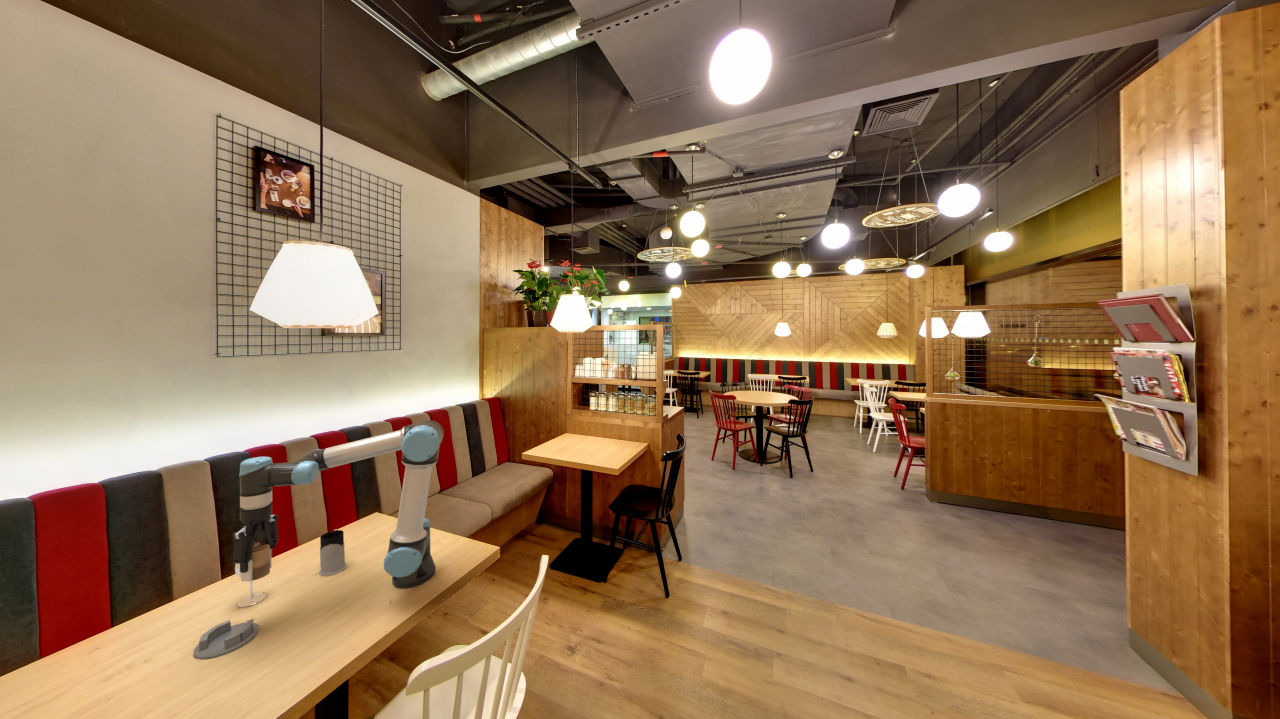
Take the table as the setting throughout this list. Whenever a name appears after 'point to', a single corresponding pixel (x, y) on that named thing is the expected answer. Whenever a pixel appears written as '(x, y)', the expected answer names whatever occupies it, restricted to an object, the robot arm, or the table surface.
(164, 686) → the table surface
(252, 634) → the grey round base
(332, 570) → the glass holder
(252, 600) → the wineglass
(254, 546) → the stopper
